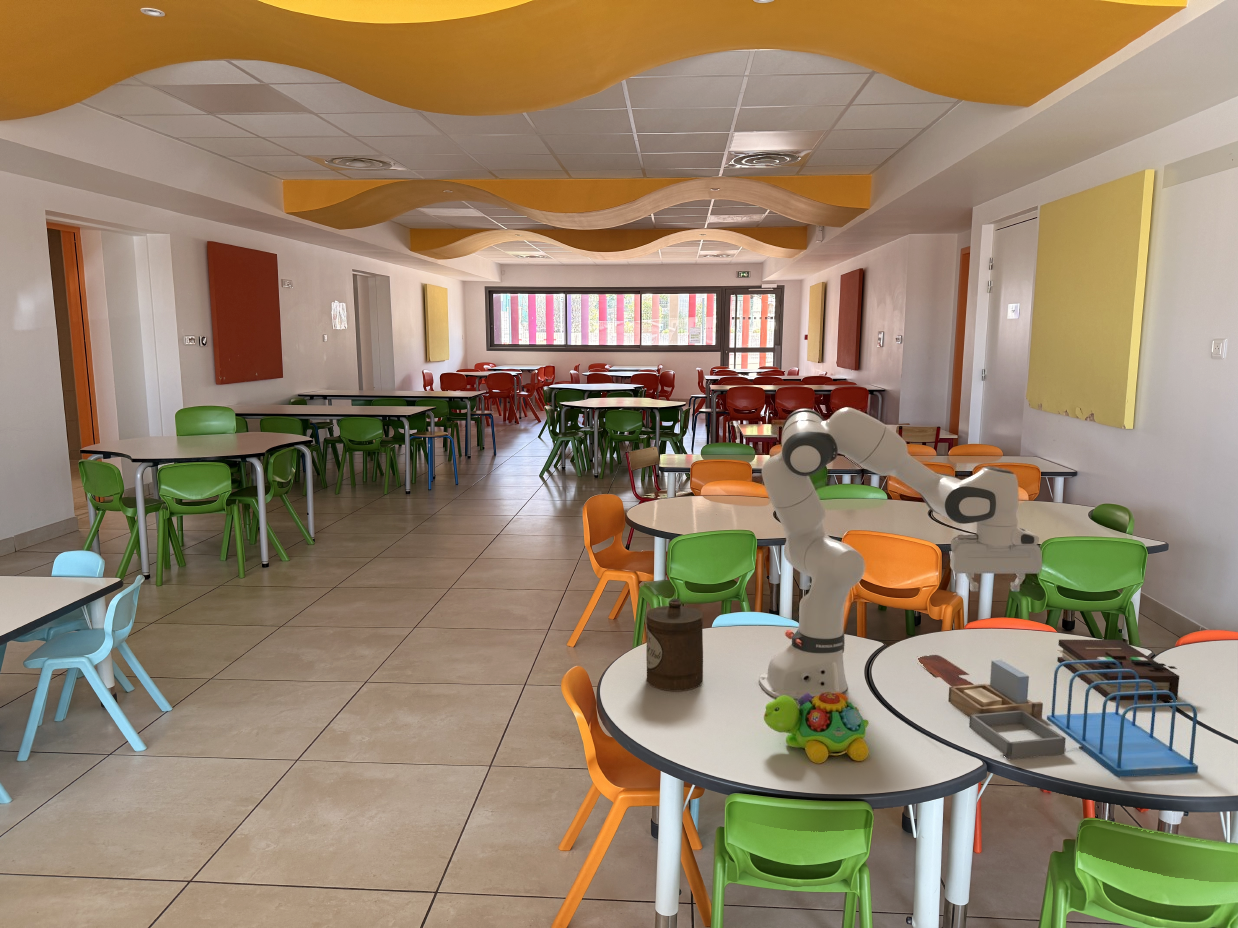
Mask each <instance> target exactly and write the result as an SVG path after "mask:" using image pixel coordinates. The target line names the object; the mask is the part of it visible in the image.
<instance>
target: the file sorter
mask: <svg viewBox="0 0 1238 928" xmlns="http://www.w3.org/2000/svg"><path fill="white" fill-rule="evenodd" d="M1104 662H1114V663H1116V664H1117V665H1118V667H1119V669H1114V670H1090V671H1079V672H1077V673H1075V674H1073V675H1072V676H1071V678H1070V679H1069V684H1068V685H1069V686H1068V697H1067V698H1068V700H1067V711H1066V712H1067V713H1066V714H1065V713H1064V714H1063V713H1062V714H1056V713H1055V711H1056V701H1057V700H1056V697H1057V684H1058V673H1059V670H1060V669H1061V668H1062V667H1064V666H1063V665H1065V664H1078V663H1104ZM1113 672H1119V677H1118V681H1099V682H1094V683H1092V684H1091V685H1088V686H1087V688H1086V691H1085V697H1084V710H1083V712H1082V713H1071V712H1072V711H1071V709H1072V699H1073V698H1072V697H1073V686H1074V681H1075V679H1076V678H1078V677H1077V676H1078V675H1080V674H1089V673H1113ZM1122 672H1131V673H1133V674H1134V675H1135V677H1136V680H1121V679H1122ZM1053 673H1054V674H1053V675H1054V676H1053V688H1052V701H1051V714H1047V715H1046V720H1047V721H1048V722H1050V723H1051V724H1052V725H1053V726H1055V727H1056V728H1057V729H1058V730H1060V731H1061V732H1062V733H1064V734H1065V735H1067V737H1069V738H1070V739H1072V740H1073V741H1074V742H1075V743H1077V744H1078V745H1080V746H1079V748H1080V750H1082V751H1084V753H1086V754H1087V755H1089V756H1090V757H1091V758H1092V759H1093V760H1094V761H1096V762H1098V764H1100V765H1102V766H1103V767H1104V768H1105V769H1106V770H1108V771H1109V772H1110V773H1112V774H1113V775H1114V776H1115V777H1117V778H1125V777H1127V778H1128V777H1142V776H1158V775H1159V776H1161V775H1162V776H1163V775H1164V776H1165V775H1182V774H1183V775H1185V774H1198V773H1199V771H1198V770H1199V765H1198V764H1196V763H1194V756H1195V747H1196V746H1195V745H1196V733H1197V725H1198V724H1197V723H1198V722H1197V721H1198V710H1197V708H1196V707H1195V706H1194V705H1193V704H1192V703H1189V702H1177V701H1176V698H1175V696H1174V694H1172V693H1171V692H1169V691H1157V688H1156V685H1155V684H1154V683H1153V682H1152V681H1150V680H1139V676H1138V674H1137V673H1136V672H1135V671H1133V670H1130V669H1122V667H1121V665H1120V663H1119V662H1117V661H1115V660H1083V661H1065V662H1062V663H1058V665H1057V666H1056V667H1055V669H1054V672H1053ZM1121 683H1136V687H1135V692H1120V691H1121ZM1139 683H1150V684H1151V685H1152V686H1153V691H1138V690H1139ZM1100 684H1118V689H1117V693H1112V694H1110V695H1109V696H1107V697H1106V698H1105V699H1104V701H1103V703H1102V710H1101V712H1089V713H1088V709H1089V708H1088V707H1089V696H1090V691H1091V690H1092V689H1093V688H1092V687H1094V686H1096V685H1100ZM1143 694H1153V700H1152V703H1147V704H1138V701H1139V700H1138V695H1143ZM1157 694H1169V695H1170V696H1171V697H1172V699H1173V701H1172V702H1169V703H1168V702H1167V703H1164V702H1163V703H1157V700H1156V699H1157ZM1122 695H1135V698H1134V700H1133V705H1130V706H1128V707H1126V708H1125V709H1124V710H1123V712H1122V713H1120V711H1119V709H1120V701H1121V700H1120V696H1122ZM1114 696H1117V699H1116V700H1115V711H1111V712H1107V706H1108V705H1107V704H1108V702H1109V701H1110V700H1109V699H1110V698H1112V697H1114ZM1164 707H1172V708H1171V718H1170V729H1169V730H1170V732H1169V742H1168V744H1169V745H1168V744H1167V743H1165V742H1163V741H1162V740H1160V739H1159V738H1158V737H1156V736H1154V733H1155V732H1154V731H1155V722H1156V721H1155V720H1156V712H1157V711H1156V710H1157V709H1156V708H1164ZM1177 707H1190V708H1191V710H1192V714H1193V715H1192V716H1193V717H1192V727H1191V738H1190V748H1189V759H1188V758H1187V757H1186V756H1185V755H1183V754H1181V753H1180V752H1178V751H1177V750H1176V749H1174V748H1173V745H1174V735H1175V726H1176V725H1175V724H1176V715H1177V713H1176V712H1177ZM1143 708H1147V709H1148V708H1151V717H1150V718H1151V720H1150V732H1148V731H1147V730H1145V729H1144V728H1142V727H1141V726H1140V725H1138V724H1136V721H1137V720H1136V719H1137V711H1138V710H1137V709H1143ZM1131 710H1132V720H1131V719H1129V718H1128V717H1126V715H1127V714H1128V713H1129V712H1130V711H1131Z"/></svg>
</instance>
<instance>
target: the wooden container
mask: <svg viewBox="0 0 1238 928" xmlns="http://www.w3.org/2000/svg"><path fill="white" fill-rule="evenodd" d="M703 617H704V616H703V613H702V611H700V610H699V609H697V608H694V607H689V606H684V605H682V602H681V600H680V599H679V598H674V597H673V598H671V599H670V600H669V601H668V605H662V606H657V607H653V608H651V609H649V610H648V611H647V612H646V681H647V683H648V684H649V685H650V686H652V687H654V688H656V689H659V690H664V691H669V692H683V691H688V690H689V691H690V690H693V689H696V688H698V687H699V686H701V684H703V681H704V644H703V643H704V642H703V641H704V640H703V635H704V634H703V633H704V631H703V626H704V625H703V624H704V623H703V622H704V621H703V620H704V618H703Z"/></svg>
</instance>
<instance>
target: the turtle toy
mask: <svg viewBox="0 0 1238 928" xmlns="http://www.w3.org/2000/svg"><path fill="white" fill-rule="evenodd" d="M763 720H764V722H765V724H766V725H767V726H768V727H769V729H771V730H773V731H774V732H778V733H786V734H787V736H786V738H785V743H786V744H787V745H788V746H790V747H793V748H802V749H805V753H806V755H807V757H808V758H809V760H810V761H812V763H815V764H822V763H824V762H825V761H826V760H827V759H828V757H829V756H839V755H843V754H845V753H846V754H847V755H848V757H850V759H851V760H854V761H855V762H861V761H865V760H866V759H867V758H868V756H869V753H870V752H869V747H868V745H867V743H866V742H865V740H864V738H865V736H866V728H867V727H868V726H869V722H870V721H869V720H868V719H864V718H863V716H862V715H861V713H860V710H859V708H858V707H855V706H854V705H853V703H852V702H850V701H849V699H848V697H847V695H845V694H844V693H843V692H842V693H830V692H825V693H822V694H820V695H818V696H813V697H812V696H811V695H810V694H809V693H806V694H804V695H803V696H801V697H800V698H799V699H797V701H796V699H793V698H791V697H789V696H786V695H783V696H780V697H778V698H775V699H774V700H772V701H770V702H768V703H767V704H766V705H765V712H764V714H763ZM835 752H836V753H835ZM838 752H839V753H838Z"/></svg>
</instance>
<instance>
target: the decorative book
mask: <svg viewBox="0 0 1238 928" xmlns="http://www.w3.org/2000/svg"><path fill="white" fill-rule="evenodd" d="M1057 644H1058V646H1059V647H1060V648H1061V649H1057V651H1058V652H1059V653H1061V654H1062V655H1061V656H1057V658H1056V659H1057V663H1058V664H1060V663H1062V662H1065V661H1083V660H1115V661H1117V662H1119V663H1120V665H1121V667H1122V669H1130V670H1133V671H1135V672H1136V673H1137V674H1138V676H1139V680H1150V681H1152V682H1153V683H1154V684H1155V685H1156V688H1157V691H1169V692H1171V693H1172V694H1174V696H1175V698H1176V700H1177V701H1178V698H1179V697H1178V696H1179V685H1180V675H1179V674H1177V673H1175V672H1174V671H1172V670H1173V669H1174V670H1178V668H1177V667H1176V666H1173V665H1171V666H1170V665H1166V663H1162V662H1161V663H1159V662H1157V661H1156V660H1155V659H1152V658H1151V657H1149V656H1148V655H1146V654H1144V653H1143V652H1141V651H1139V650H1138V649H1136V648H1135V647H1134V646H1131V645H1130V644H1128V643H1126V642H1125V641H1123V640H1122V639H1058V643H1057ZM1062 667H1064V668H1065V669H1067V670H1068V671H1069V672H1070V673H1072V674H1073V675H1074V674H1075V673H1077V672H1079V671H1090V670H1114V669H1119V667H1118V665H1117V664H1116V663H1114V662H1104V663H1078V664H1065V665H1063V666H1062ZM1118 677H1119V672H1113V673H1089V674H1080V675H1078V676H1077V677H1076V678H1079V679H1080V680H1081V681H1082V682H1084V683H1085V684H1086V685H1087V686H1089V685H1091V684H1092V683H1094V682H1099V681H1118ZM1121 680H1136V677H1135V675H1134V674H1133V673H1131V672H1122V679H1121ZM1135 687H1136V683H1121V691H1120V692H1135ZM1092 689H1093V690H1094V691H1095V692H1097V693H1098V694H1099V695H1100V696H1102V697H1103V698H1105V699H1106V697H1107V696H1109V695H1110V694H1112V693H1117V689H1118V684H1100V685H1096V686H1094V687H1092ZM1138 691H1153V686H1152V685H1151V684H1150V683H1139V690H1138ZM1134 698H1135V695H1122V696H1120V701H1134ZM1116 699H1117V696H1114V697H1112V698H1110V699H1109V700H1108V701H1116ZM1171 700H1173V699H1172V697H1171V696H1170V695H1169V694H1157V699H1156V701H1171ZM1138 701H1153V694H1143V695H1138Z"/></svg>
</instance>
